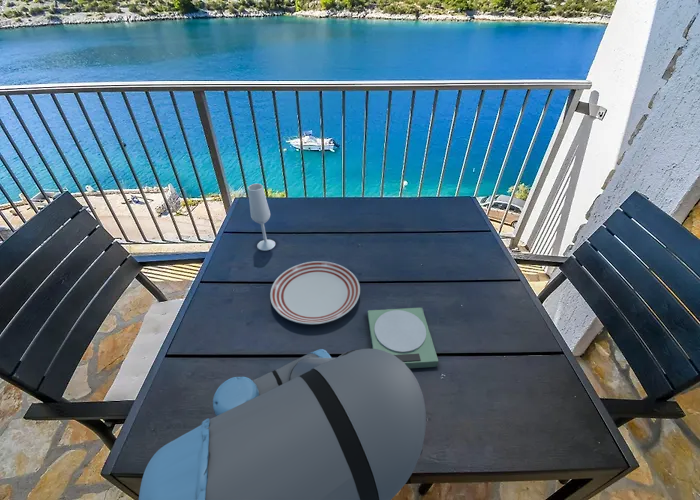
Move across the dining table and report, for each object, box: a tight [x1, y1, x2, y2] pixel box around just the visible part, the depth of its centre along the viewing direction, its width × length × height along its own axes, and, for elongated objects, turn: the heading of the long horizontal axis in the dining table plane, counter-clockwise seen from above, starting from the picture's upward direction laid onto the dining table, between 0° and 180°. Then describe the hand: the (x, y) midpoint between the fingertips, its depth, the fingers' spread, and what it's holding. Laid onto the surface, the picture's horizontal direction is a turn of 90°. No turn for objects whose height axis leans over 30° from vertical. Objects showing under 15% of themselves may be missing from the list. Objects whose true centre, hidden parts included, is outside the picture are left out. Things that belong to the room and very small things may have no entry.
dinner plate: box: [269, 260, 361, 325], centre depth 108 cm, size 28×27×3 cm
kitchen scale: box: [366, 307, 439, 369], centre depth 95 cm, size 18×16×3 cm
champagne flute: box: [247, 183, 276, 252], centre depth 121 cm, size 7×7×24 cm
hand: (402, 407), depth 72 cm, fingers open, 13 cm apart
